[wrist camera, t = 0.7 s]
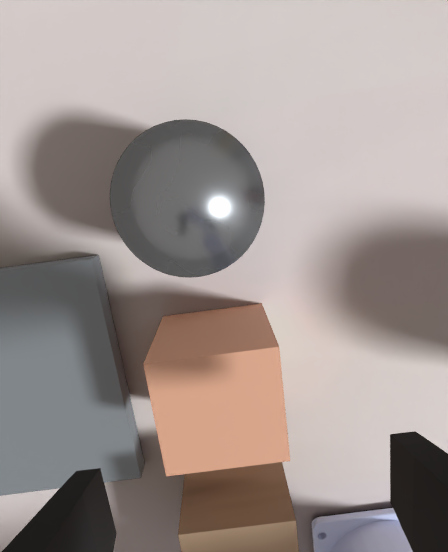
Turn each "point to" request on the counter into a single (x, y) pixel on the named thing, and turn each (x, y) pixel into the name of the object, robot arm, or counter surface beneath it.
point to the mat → (61, 379)
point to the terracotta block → (217, 390)
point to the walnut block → (238, 511)
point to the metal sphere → (187, 198)
